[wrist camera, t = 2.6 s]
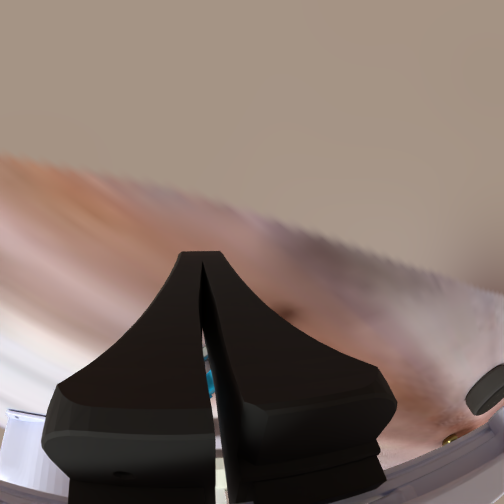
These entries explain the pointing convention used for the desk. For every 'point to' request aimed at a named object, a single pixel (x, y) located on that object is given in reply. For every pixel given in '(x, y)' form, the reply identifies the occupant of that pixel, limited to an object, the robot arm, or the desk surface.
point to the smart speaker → (486, 392)
